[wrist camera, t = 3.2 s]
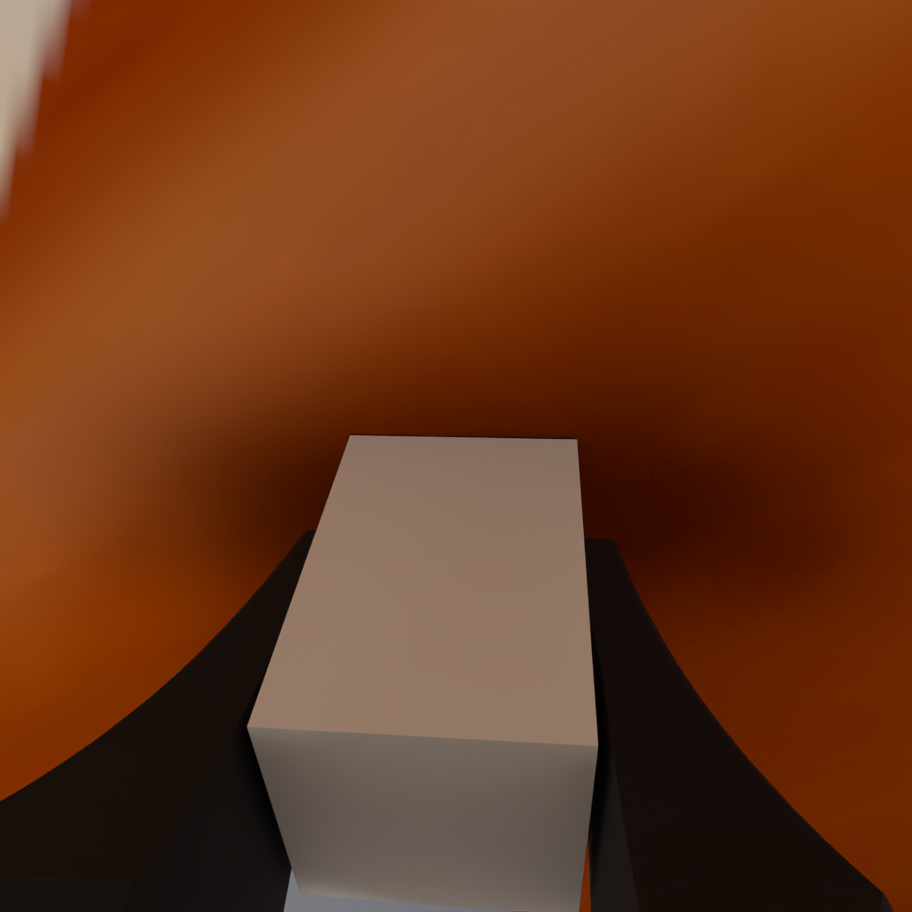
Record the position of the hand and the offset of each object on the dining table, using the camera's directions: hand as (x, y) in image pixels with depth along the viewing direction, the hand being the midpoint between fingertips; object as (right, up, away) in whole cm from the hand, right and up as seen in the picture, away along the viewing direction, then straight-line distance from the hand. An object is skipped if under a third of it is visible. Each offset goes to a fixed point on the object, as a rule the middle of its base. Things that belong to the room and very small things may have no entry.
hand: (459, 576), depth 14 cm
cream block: (0, +1, +1) cm, 1 cm away
